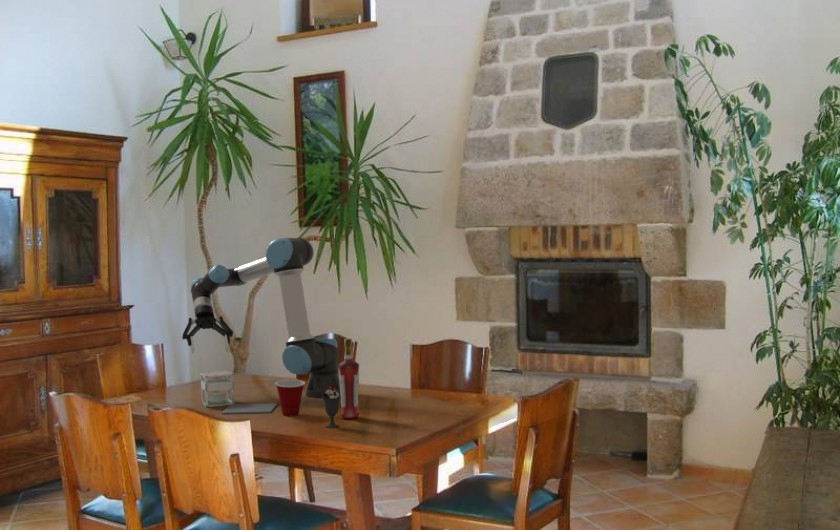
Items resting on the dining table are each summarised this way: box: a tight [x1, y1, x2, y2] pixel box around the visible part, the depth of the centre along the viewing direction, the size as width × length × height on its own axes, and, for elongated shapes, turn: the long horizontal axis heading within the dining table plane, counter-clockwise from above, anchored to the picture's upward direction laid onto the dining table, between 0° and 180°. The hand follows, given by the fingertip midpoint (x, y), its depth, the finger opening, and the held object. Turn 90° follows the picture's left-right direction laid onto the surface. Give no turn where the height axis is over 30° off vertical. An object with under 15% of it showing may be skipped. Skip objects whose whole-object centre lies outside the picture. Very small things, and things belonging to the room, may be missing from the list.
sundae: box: [321, 382, 341, 429], centre depth 306 cm, size 7×7×15 cm
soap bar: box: [208, 391, 227, 405], centre depth 355 cm, size 6×6×4 cm
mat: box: [221, 403, 278, 415], centre depth 341 cm, size 18×16×1 cm
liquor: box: [338, 338, 360, 420], centre depth 320 cm, size 7×7×28 cm
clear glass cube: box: [200, 370, 236, 408], centre depth 355 cm, size 11×11×12 cm
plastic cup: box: [274, 379, 306, 417], centre depth 329 cm, size 11×11×12 cm
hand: (210, 350), depth 364 cm, fingers open, 13 cm apart
